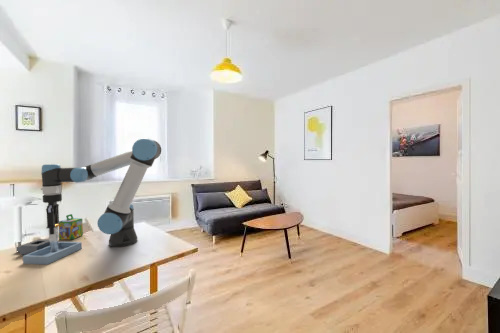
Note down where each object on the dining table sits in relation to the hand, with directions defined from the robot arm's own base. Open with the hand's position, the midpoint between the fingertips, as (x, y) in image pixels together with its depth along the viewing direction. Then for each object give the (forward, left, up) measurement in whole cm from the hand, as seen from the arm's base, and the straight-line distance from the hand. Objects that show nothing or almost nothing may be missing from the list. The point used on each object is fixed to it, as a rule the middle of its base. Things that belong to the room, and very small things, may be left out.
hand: (54, 238), depth 123 cm
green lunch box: (-27, -16, -9) cm, 33 cm away
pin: (0, 0, -7) cm, 7 cm away
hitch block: (-4, -17, -9) cm, 20 cm away
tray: (0, 0, -9) cm, 9 cm away
